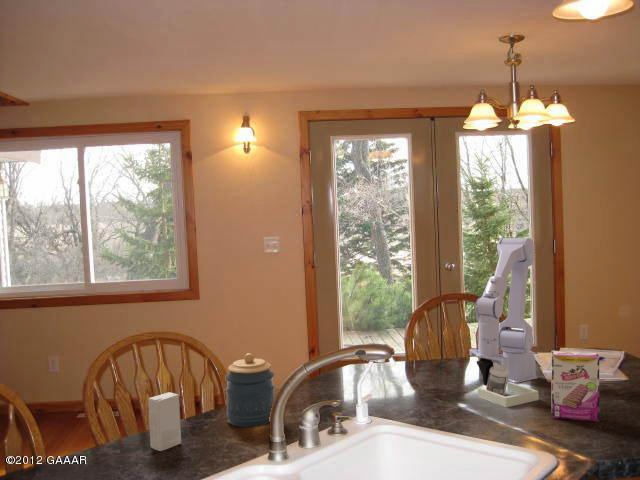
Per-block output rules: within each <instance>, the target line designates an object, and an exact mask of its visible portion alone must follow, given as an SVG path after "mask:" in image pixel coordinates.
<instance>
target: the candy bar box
mask: <svg viewBox="0 0 640 480" xmlns="http://www.w3.org/2000/svg"><path fill="white" fill-rule="evenodd" d="M550 354H551V356H550V357H551V359H550V360H551V361H550V362H551V368H550V369H551V377H550V378H551V389H550V391H551V417H552V419H561V420H571V421H574V420H575V421H586V422H598V423H599V422H600V357H599V353H598V352H583V351H582V352H581V351H566V350H565V351H563V350H551V353H550Z"/></svg>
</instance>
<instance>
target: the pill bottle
mask: <svg viewBox="0 0 640 480" xmlns="http://www.w3.org/2000/svg"><path fill="white" fill-rule="evenodd" d="M507 368H508V365H506V366H502V365H501V364H500V363H498V362H497V361H496V360H494V362H493V366H492V367H491V368H490V370H489V376H488V382H487V386H486V389H485V390H488V391H491V392H494V393H497V394H499V395H502V396H505V395H506V391H507V382H509V381H508V376H509V372H508V370H507Z"/></svg>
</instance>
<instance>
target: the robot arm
mask: <svg viewBox="0 0 640 480" xmlns="http://www.w3.org/2000/svg"><path fill="white" fill-rule="evenodd" d="M496 250H497V256H498V260H497V264H496V268H495V271H494V274H493V276H490V277H489V278H488V281H487V283H486V286H485V288H484V291H483V293H482V296H480V297H479V298H477V300H476V301H475V305H474V312H475V315H476V322H477V323H478V343H477V344H478V346H477V347H478V349H477V348H470V349H469V356H470V357H475V358H479V360H476V364H477V366H478V368H479V370H480V373H481V376H482V383H483V386H484V387H485V386H486V387H487V382H488V376H489V370H490V368H491V367H492V366H493V362H494V360H496V361H497V362H498V363H500V364H501V365H502V366H506V365H508V368H507V370H508V372H509V376H508V381H507V382H512V383H515V384H519V383H523V382H527V381H532V380H537V379H538V376H536V356H535V353H534V352H533V350H531V349H532V347H533V343H534V334H533V327H532V326H531V325H530V324H529V322H528V321H526V320H525V310H526V297H527V286H528V274H529V267H532V266H533V265H534V258H535V244H534V241H533V240H532V238H531V237H501V238H500V239H499V240H498V242H497V246H496ZM509 274H511V275H510V285H509V283H508V281H507V278H508V276H509ZM508 287H509V295H508V307H507V317H506V318H505V319H504V320H503V321H501V322H500V318H501V317H502V315H503V313H504V303H505V301H504V299H505V298H504V297H505V296H506V293H507V290H508ZM500 351H502V354H500V353H499V352H500Z"/></svg>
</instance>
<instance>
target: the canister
mask: <svg viewBox="0 0 640 480" xmlns="http://www.w3.org/2000/svg"><path fill="white" fill-rule="evenodd" d="M243 357H244V358H243V359H238V360H235V361H233V362H232V363H231V364H230V365H228V367H227V370H228V371H229V372H228V373H227V374H226V375H224V380H225V381H226V382H227V383H226V388H225V393H226V394H225V395H226V412H225V413H226V419H227V422H228V423H229V424H230V425H232V426H235V427H238V428H239V427H240V428H251V427H253V428H254V427H260V426H264V425H268V424H270V423H269V417H270V412H271V408H272V405H273V402H274V400H275V401H276V397H275V396H276V395H275V394H276V393H275V389H276V386H275V384H274V380H273V378H274V377H275V372H274V371H273V370H271V368H272V364H271V363H269V362H268V361H266V360H265V359H263V358H255V356H254V354H253V353H250V352H249V353H246V354H245V355H244V356H243Z"/></svg>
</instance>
